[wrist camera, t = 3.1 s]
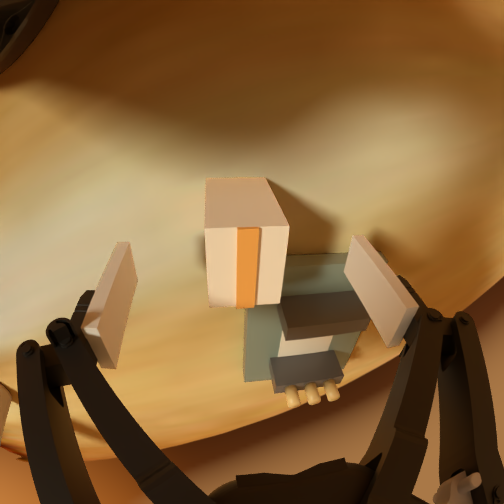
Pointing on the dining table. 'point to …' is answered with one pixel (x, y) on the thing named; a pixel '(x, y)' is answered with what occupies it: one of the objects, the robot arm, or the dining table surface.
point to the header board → (305, 329)
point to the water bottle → (4, 407)
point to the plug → (244, 242)
